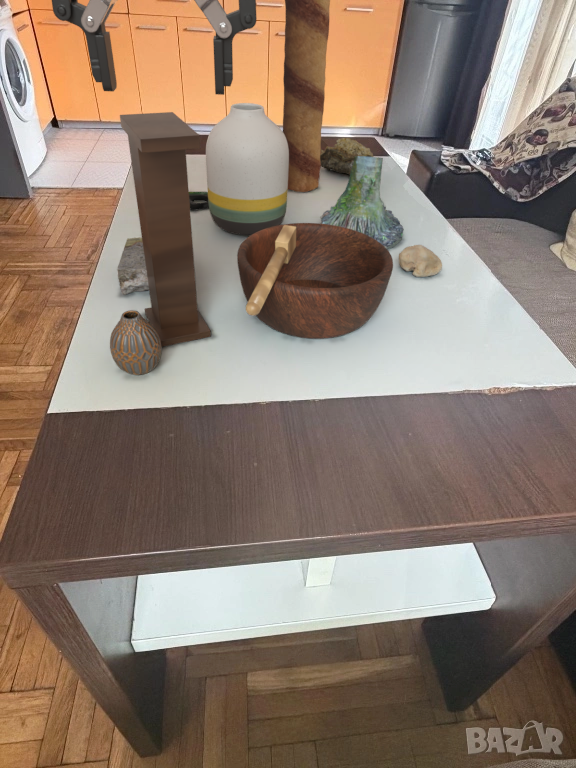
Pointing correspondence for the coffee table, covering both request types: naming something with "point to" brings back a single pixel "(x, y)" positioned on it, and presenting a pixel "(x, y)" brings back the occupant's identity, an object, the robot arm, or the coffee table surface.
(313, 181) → the wafer roll
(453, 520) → the coffee table surface
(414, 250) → the stone
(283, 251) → the wooden mallet
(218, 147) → the vase
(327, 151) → the mineral specimen
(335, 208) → the tree stump
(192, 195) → the gun
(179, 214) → the stand
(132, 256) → the geological specimen
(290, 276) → the wooden bowl
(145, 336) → the vase
